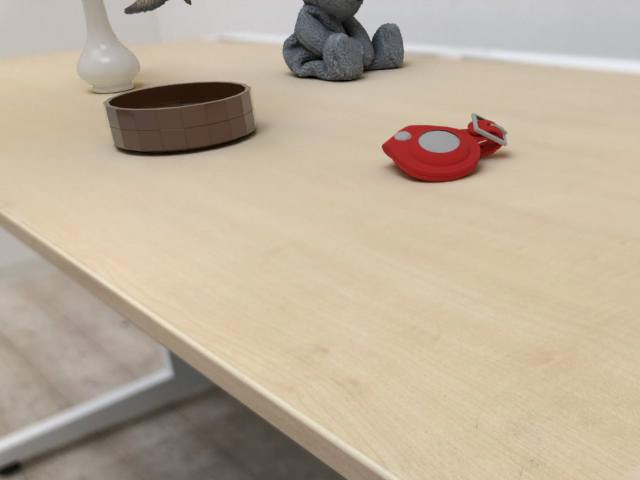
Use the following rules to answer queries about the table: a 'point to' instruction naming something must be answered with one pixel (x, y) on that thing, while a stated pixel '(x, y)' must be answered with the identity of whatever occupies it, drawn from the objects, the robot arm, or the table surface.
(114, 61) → the flower vase
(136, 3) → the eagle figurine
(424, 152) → the tracker holder
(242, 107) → the bowl
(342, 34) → the koala plush
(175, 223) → the table surface
